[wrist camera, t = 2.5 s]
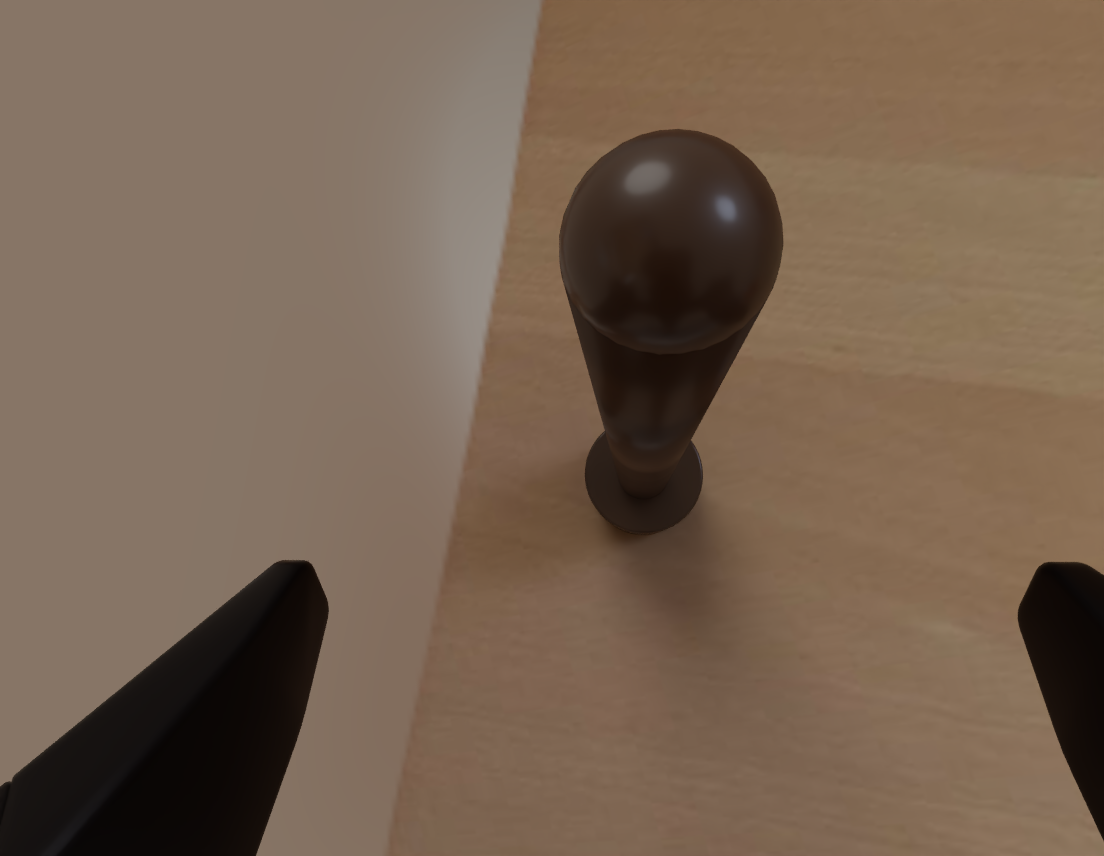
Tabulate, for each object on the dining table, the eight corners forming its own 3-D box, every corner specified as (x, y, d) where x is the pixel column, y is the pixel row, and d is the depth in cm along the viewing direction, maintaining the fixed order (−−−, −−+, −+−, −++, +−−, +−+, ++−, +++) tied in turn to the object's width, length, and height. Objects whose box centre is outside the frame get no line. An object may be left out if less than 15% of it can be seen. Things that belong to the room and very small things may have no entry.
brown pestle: (698, 529, 19) (1069, 462, 3) (597, 539, 19) (397, 526, 3) (685, 430, 19) (931, -120, 3) (587, 440, 19) (369, -15, 3)
